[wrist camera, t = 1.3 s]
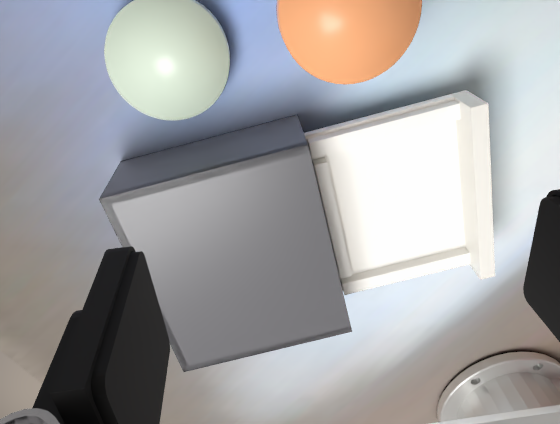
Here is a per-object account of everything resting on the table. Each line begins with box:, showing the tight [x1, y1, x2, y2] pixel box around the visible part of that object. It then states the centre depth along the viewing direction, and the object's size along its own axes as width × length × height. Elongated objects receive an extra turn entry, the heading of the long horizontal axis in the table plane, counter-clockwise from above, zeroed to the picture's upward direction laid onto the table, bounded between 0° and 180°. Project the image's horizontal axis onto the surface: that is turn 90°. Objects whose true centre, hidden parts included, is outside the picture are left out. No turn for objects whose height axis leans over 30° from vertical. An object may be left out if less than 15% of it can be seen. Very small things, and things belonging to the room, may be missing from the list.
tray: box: [304, 90, 495, 295], centre depth 32 cm, size 12×12×3 cm
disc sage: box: [104, 0, 230, 121], centre depth 28 cm, size 7×7×2 cm
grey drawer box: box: [99, 115, 352, 372], centre depth 32 cm, size 12×14×6 cm
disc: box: [276, 0, 422, 84], centre depth 24 cm, size 7×7×2 cm
